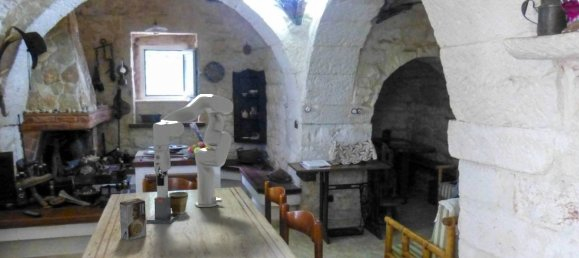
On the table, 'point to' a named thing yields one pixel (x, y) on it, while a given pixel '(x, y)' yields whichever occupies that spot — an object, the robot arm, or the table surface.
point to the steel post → (163, 188)
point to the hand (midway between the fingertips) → (162, 184)
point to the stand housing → (162, 211)
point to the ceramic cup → (178, 202)
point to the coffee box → (132, 219)
